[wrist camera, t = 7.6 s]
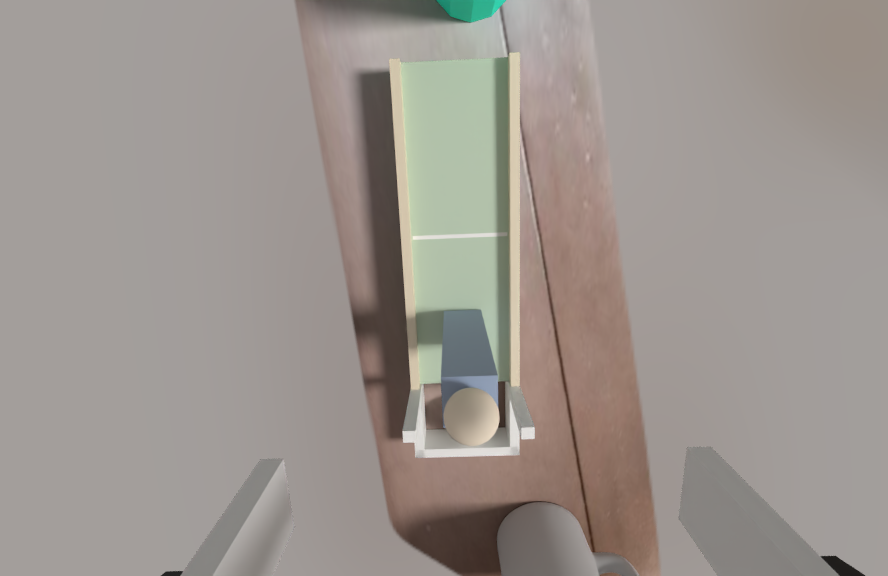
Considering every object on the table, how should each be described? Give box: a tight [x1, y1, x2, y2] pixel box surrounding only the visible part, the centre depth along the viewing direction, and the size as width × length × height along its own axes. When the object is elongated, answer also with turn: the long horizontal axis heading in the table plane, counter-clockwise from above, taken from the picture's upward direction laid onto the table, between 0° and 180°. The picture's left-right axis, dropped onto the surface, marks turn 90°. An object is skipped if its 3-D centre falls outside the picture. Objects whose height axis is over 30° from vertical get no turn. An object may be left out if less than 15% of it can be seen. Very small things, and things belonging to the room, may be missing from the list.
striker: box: [441, 310, 500, 446], centre depth 27 cm, size 3×3×15 cm
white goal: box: [402, 381, 535, 458], centre depth 34 cm, size 6×9×9 cm
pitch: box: [389, 52, 520, 390], centre depth 33 cm, size 25×9×3 cm, turn 2°
